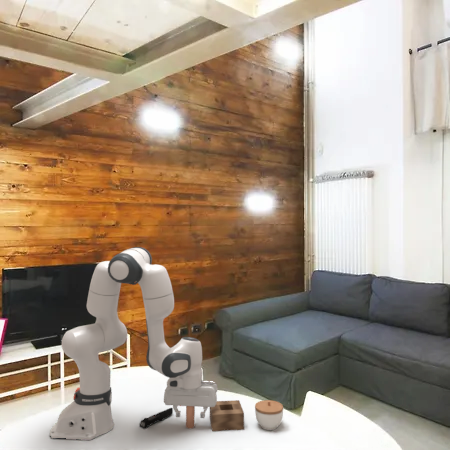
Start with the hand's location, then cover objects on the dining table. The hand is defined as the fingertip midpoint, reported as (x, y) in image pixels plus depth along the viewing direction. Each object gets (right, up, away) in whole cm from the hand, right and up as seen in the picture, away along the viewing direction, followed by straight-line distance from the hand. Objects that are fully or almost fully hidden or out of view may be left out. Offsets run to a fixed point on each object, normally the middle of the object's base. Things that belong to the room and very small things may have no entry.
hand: (190, 417), depth 149 cm
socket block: (+14, -4, +3) cm, 15 cm away
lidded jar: (+30, -4, +1) cm, 30 cm away
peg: (0, -4, 0) cm, 4 cm away
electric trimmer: (-14, -4, +5) cm, 15 cm away
